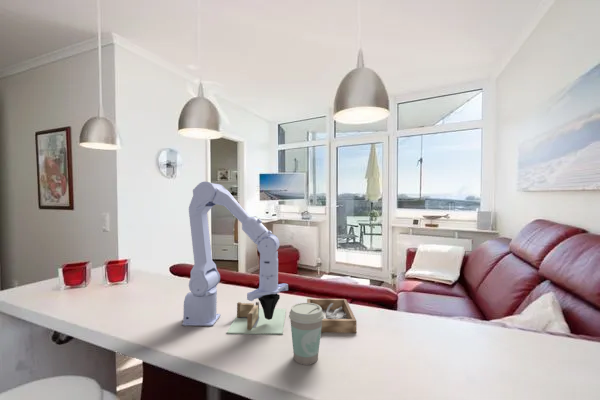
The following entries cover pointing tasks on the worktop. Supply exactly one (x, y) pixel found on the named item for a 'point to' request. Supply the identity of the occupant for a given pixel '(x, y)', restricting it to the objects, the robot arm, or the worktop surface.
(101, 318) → the worktop surface
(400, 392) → the worktop surface
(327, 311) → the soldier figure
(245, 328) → the mat
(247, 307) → the fixed rail
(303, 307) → the coffee cup
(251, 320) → the rail
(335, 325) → the box
